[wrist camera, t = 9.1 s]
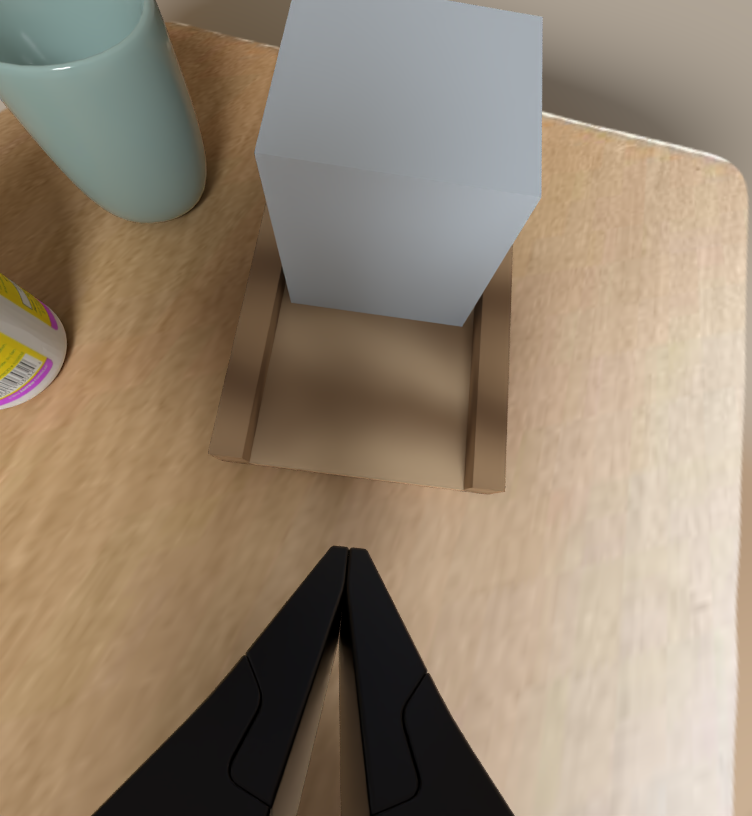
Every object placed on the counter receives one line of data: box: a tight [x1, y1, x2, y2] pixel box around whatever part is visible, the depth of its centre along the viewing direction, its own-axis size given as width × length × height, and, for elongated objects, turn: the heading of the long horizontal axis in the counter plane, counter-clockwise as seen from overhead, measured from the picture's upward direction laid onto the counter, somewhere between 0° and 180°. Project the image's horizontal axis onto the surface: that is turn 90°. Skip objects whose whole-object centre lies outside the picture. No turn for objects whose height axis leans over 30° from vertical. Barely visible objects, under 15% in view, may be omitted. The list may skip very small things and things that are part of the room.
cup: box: [0, 0, 207, 223], centre depth 21 cm, size 8×8×10 cm
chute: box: [208, 202, 513, 494], centre depth 23 cm, size 22×14×3 cm, turn 173°
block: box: [254, 0, 543, 327], centre depth 20 cm, size 9×10×10 cm
